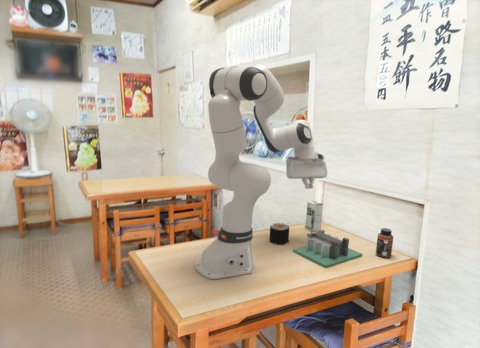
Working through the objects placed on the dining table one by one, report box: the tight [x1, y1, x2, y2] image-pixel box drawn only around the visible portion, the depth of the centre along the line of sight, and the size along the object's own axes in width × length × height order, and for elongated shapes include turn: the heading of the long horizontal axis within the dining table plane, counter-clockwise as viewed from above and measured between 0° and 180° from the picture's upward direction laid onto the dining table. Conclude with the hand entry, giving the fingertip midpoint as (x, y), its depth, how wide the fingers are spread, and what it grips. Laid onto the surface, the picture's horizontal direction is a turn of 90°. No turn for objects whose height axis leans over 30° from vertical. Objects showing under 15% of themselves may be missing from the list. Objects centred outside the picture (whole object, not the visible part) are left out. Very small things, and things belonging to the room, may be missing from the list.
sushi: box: [268, 222, 290, 246], centre depth 154 cm, size 8×8×8 cm
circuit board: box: [292, 245, 363, 269], centre depth 142 cm, size 22×18×1 cm
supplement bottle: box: [375, 227, 394, 259], centre depth 142 cm, size 6×6×11 cm
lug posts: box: [330, 237, 350, 260], centre depth 137 cm, size 8×2×7 cm, turn 124°
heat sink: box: [305, 229, 342, 258], centre depth 143 cm, size 14×13×6 cm
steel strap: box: [312, 231, 343, 245], centre depth 141 cm, size 4×13×1 cm, turn 34°
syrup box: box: [304, 199, 324, 233], centre depth 171 cm, size 6×6×14 cm
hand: (309, 188), depth 146 cm, fingers closed
